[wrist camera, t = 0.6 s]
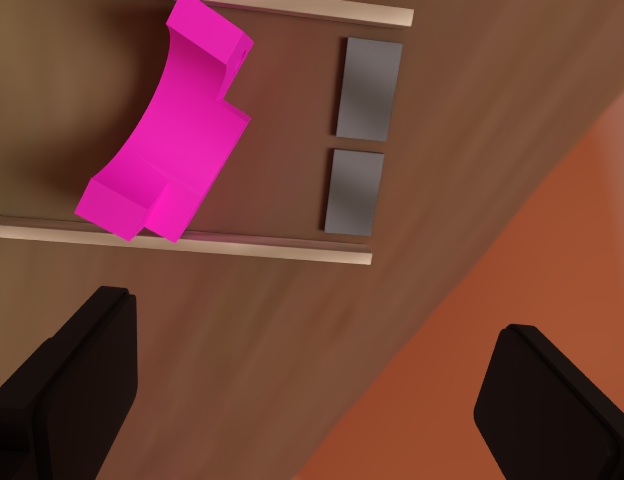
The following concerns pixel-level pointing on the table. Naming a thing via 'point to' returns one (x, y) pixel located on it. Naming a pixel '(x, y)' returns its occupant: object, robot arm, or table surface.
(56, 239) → the channel
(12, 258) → the table surface
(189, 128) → the toy block
